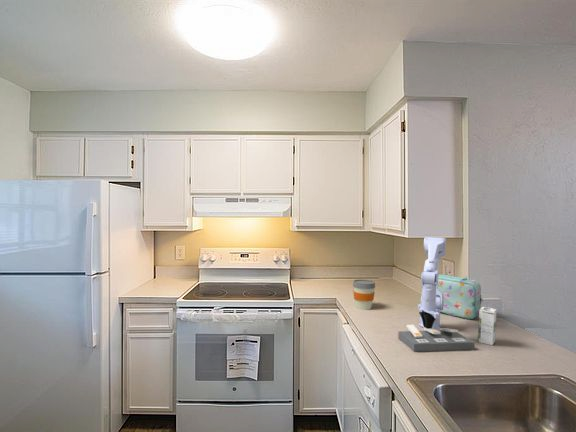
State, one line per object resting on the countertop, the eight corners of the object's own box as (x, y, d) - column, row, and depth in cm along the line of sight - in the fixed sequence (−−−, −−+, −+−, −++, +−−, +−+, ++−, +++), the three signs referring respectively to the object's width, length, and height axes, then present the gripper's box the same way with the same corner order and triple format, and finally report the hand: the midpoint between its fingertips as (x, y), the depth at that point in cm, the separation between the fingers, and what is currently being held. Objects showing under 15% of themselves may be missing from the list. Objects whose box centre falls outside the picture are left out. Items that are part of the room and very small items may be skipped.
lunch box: (484, 318, 178) (485, 278, 177) (477, 322, 171) (479, 280, 170) (433, 307, 197) (434, 270, 197) (426, 310, 190) (427, 272, 190)
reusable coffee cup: (373, 311, 186) (374, 284, 186) (351, 309, 190) (351, 282, 190) (375, 305, 198) (376, 280, 197) (354, 303, 202) (354, 278, 201)
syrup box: (480, 338, 149) (481, 306, 149) (495, 342, 145) (496, 308, 145) (477, 342, 145) (478, 308, 145) (493, 345, 141) (494, 311, 141)
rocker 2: (440, 330, 149) (440, 328, 149) (447, 330, 150) (447, 328, 150) (451, 332, 141) (451, 329, 142) (458, 331, 142) (458, 329, 142)
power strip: (398, 338, 148) (398, 329, 147) (453, 336, 151) (453, 328, 151) (414, 351, 134) (414, 342, 134) (474, 349, 137) (474, 340, 137)
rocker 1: (406, 326, 147) (406, 324, 147) (413, 326, 148) (413, 324, 147) (415, 337, 140) (415, 335, 139) (422, 337, 140) (422, 335, 140)
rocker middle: (423, 329, 148) (423, 327, 148) (430, 329, 149) (430, 326, 149) (433, 334, 140) (433, 332, 140) (440, 334, 141) (440, 331, 141)
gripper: (412, 294, 154) (411, 323, 155) (429, 303, 140) (428, 335, 140) (426, 294, 155) (425, 323, 155) (444, 303, 141) (443, 335, 141)
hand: (427, 329), depth 148 cm, fingers closed, pressing on rocker middle
